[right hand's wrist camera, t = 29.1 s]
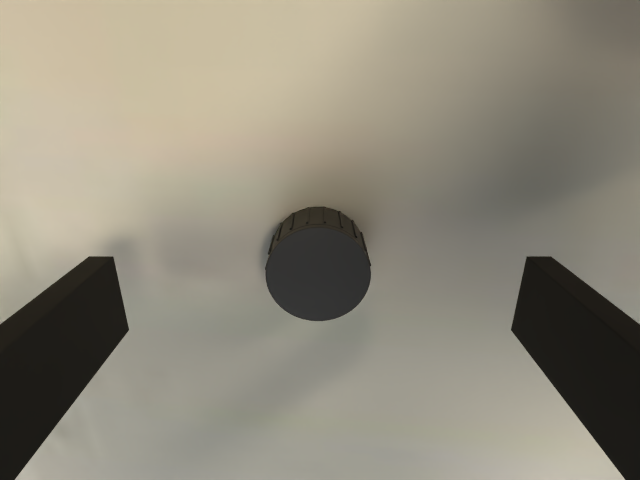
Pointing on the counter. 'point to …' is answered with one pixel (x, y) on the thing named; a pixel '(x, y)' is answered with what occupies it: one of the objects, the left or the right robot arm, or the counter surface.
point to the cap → (318, 265)
